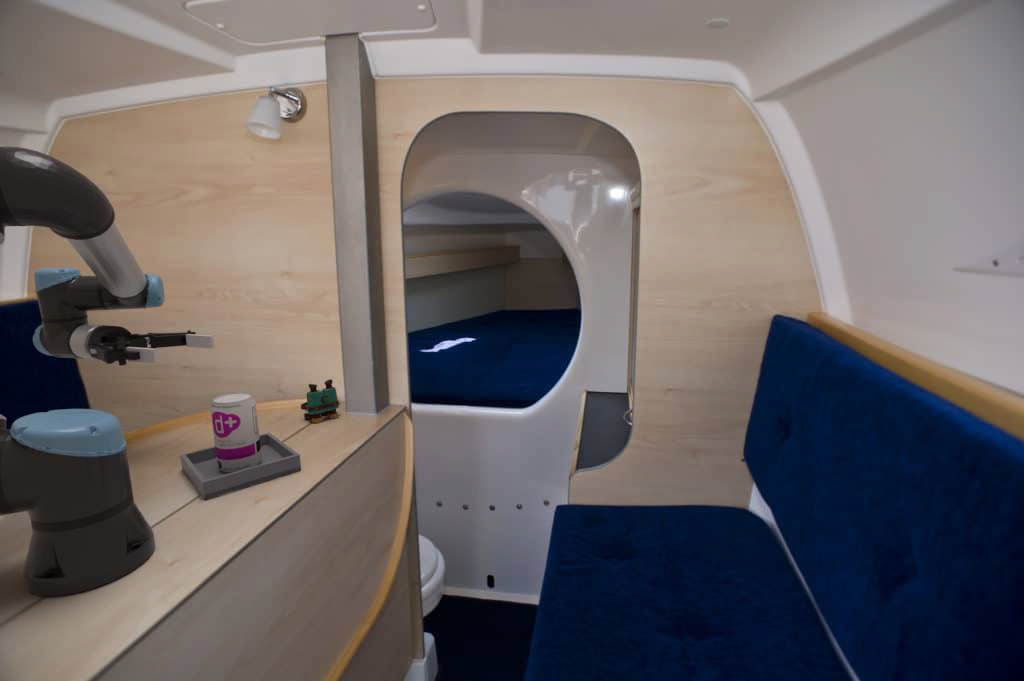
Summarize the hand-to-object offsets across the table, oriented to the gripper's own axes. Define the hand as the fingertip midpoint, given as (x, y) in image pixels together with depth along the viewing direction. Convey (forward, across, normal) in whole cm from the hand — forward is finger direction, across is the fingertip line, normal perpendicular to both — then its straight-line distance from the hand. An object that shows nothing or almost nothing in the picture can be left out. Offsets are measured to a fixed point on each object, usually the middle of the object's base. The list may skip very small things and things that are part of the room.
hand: (186, 348), depth 104 cm
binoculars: (+6, -34, -26) cm, 44 cm away
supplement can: (+9, -1, -25) cm, 27 cm away
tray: (+10, -1, -26) cm, 28 cm away
